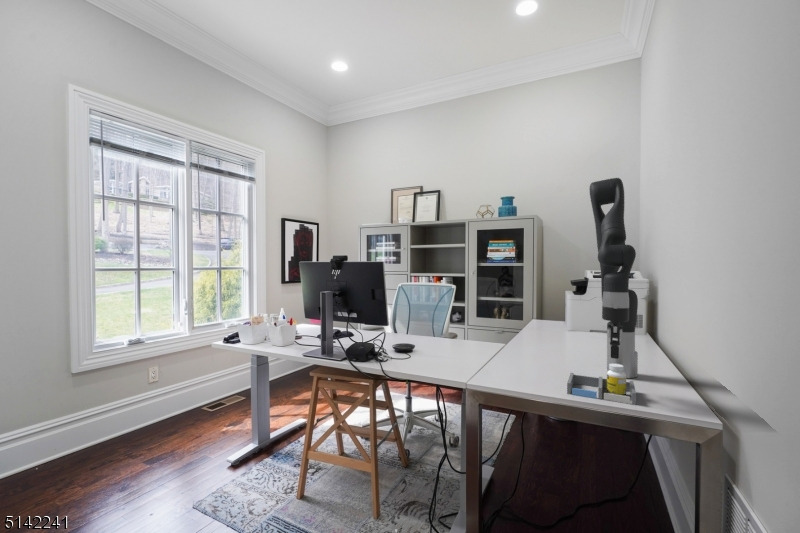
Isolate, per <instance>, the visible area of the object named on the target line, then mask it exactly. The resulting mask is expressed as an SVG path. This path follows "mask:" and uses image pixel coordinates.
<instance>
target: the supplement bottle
mask: <svg viewBox="0 0 800 533" xmlns="http://www.w3.org/2000/svg"><path fill="white" fill-rule="evenodd" d="M609 369H610V370H609V371H608V372H607V371H606V379H607V388H606V393H610V394H616V395H622V396H627V391H626V382H627V378H626V374H625V373H624V372H623V370H624V366H623V365H620V364H609Z"/></svg>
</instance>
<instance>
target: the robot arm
mask: <svg viewBox="0 0 800 533" xmlns="http://www.w3.org/2000/svg"><path fill="white" fill-rule="evenodd" d="M589 198H590V202H591V204H590V205H591V208H592V209H591V210H592V213H593V218H594V224H595V225H594V226H595V236H596V247H597V252H598V253H597V260H598V262H599V267H600V280H601V286H600V287H601V289H600V290H601V301H602V303H601V304H602V306H601V308H602V309H601V310H602V311H601V318H602V320H603V321H608V322H607V324H606V373H607V372H608V371H609V370H610V369H609V364H620V365H623V366H624V370H623V372H624V373H625V374H626V379H634V378H638V375H639V374H638V373H639V372H638V366H639V364H638V363H639V362H638V358H639V357H638V356H639V355H638V351H637V350H636V326H637V322H638V307H639V306H638V305H639V304H638V303H639V302H638V295H637V293H636V291H635V290H633V289H629V284H630V283H629V282H630V275H631V273H632V272H631V271H632V268H633V266H634V263H635V260H636V255H637V252H636V249H635V248H634V247H633V246H632V245H630V244H626V240H627V234H626V227H625V226H626V225H625V187H624V184H623V181H622V179H621V178H620V177H613V178H607V179H603V180H598V181H597V180H596V181H593V182H591V183H590V185H589ZM611 204H613V205H612V206H611V208H610V209H609V211H607V213H606V214H605V212H604V210H603V209H602V206H604V205H611ZM620 268H621V269H620Z"/></svg>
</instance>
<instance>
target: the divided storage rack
mask: <svg viewBox="0 0 800 533" xmlns="http://www.w3.org/2000/svg"><path fill="white" fill-rule="evenodd" d="M566 383H567V384H566V394H567V395H571V394H572V395H573V396H579V397H585V398H586V397H587V398H591V399H599V400H602V399H603V400H604V401H611V402H616V403H617V402H618V403H622V404H623V403H624V404H629V405H630V404H632V405H634V406H635V405H637V390H636V387H635V383H634V380H629V381H626V392H628V393H629V395H630V396H628V395H626V396H622V395H616V394H610V393H607V392H603V389H607V378H603V376H598V377H597V376H596V377H595V376H589V375H588V376H587V375H580V374H575V373H574V372H570V374H569V377H568V379H567V382H566ZM574 384H577V385H582V386H591V387H594V388H595V387H596V388H598V391H595V390H590V389H589V390H588V389H582V388H577V387H576V388H575V387H573V386H574ZM597 392H598V393H597ZM597 394H598V395H597ZM597 397H598V398H597Z"/></svg>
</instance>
